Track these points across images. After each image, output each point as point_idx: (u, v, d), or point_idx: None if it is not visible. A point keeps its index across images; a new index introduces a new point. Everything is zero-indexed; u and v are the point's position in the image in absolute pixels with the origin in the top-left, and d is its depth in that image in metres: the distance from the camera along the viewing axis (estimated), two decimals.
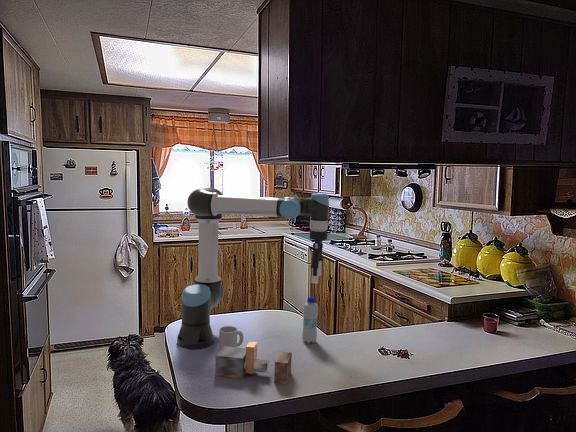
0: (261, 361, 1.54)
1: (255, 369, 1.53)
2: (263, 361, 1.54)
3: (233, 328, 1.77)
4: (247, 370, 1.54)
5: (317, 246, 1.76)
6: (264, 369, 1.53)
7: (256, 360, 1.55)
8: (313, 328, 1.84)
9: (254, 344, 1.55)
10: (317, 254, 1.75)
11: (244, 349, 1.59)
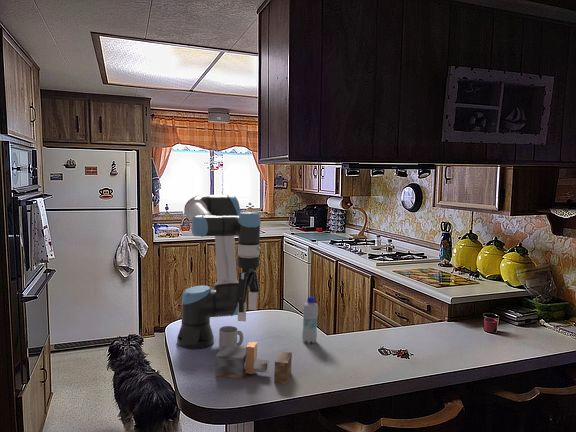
0: (261, 361, 1.54)
1: (255, 369, 1.53)
2: (263, 361, 1.54)
3: (233, 328, 1.77)
4: (247, 370, 1.54)
5: (243, 276, 1.45)
6: (264, 369, 1.53)
7: (256, 360, 1.55)
8: (313, 328, 1.84)
9: (254, 344, 1.55)
10: (243, 286, 1.44)
11: (244, 349, 1.59)
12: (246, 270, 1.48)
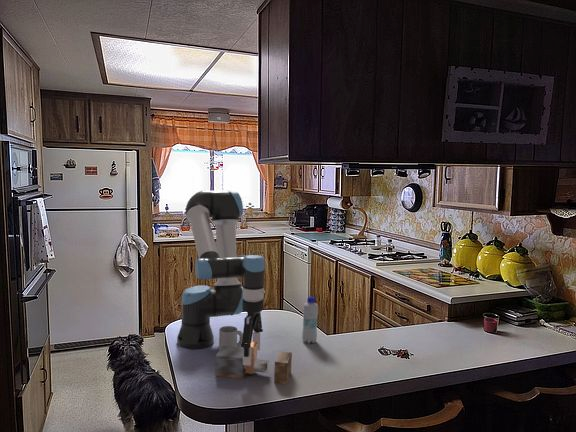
0: (261, 361, 1.54)
1: (255, 369, 1.53)
2: (263, 361, 1.54)
3: (233, 328, 1.77)
4: (247, 370, 1.54)
5: (249, 321, 1.47)
6: (264, 369, 1.53)
7: (256, 360, 1.55)
8: (313, 328, 1.84)
9: (254, 344, 1.55)
10: (248, 331, 1.46)
11: None
12: (251, 314, 1.50)
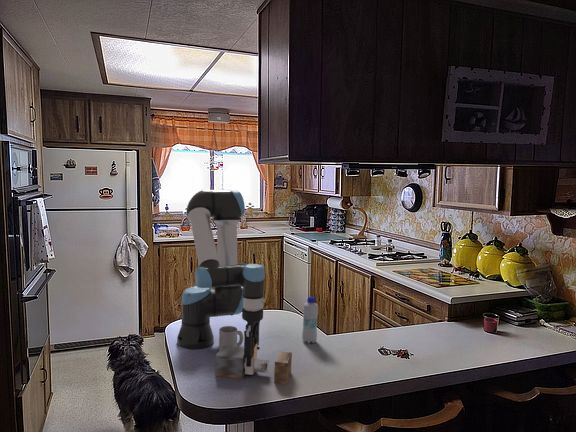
0: (261, 361, 1.54)
1: (255, 369, 1.53)
2: (263, 361, 1.54)
3: (233, 328, 1.77)
4: None
5: (248, 335, 1.48)
6: (264, 369, 1.53)
7: (256, 360, 1.55)
8: (313, 328, 1.84)
9: (254, 344, 1.55)
10: (249, 343, 1.49)
11: None
12: (251, 323, 1.50)
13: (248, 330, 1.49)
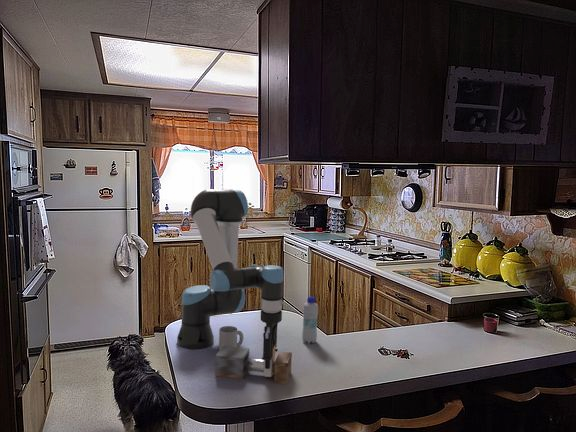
0: None
1: (274, 371, 1.52)
2: None
3: (233, 328, 1.77)
4: None
5: (268, 337, 1.47)
6: None
7: (274, 362, 1.54)
8: (313, 328, 1.84)
9: (272, 346, 1.54)
10: (268, 345, 1.48)
11: (244, 349, 1.59)
12: (269, 325, 1.49)
13: (267, 332, 1.48)
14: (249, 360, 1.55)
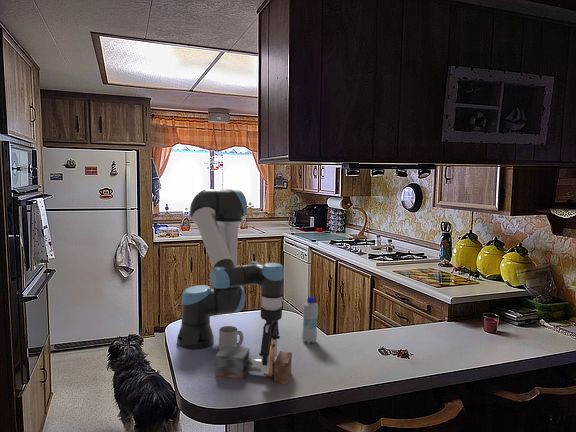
0: None
1: (274, 371, 1.52)
2: None
3: (233, 328, 1.77)
4: None
5: (267, 330, 1.46)
6: None
7: (274, 362, 1.54)
8: (313, 328, 1.84)
9: (272, 346, 1.54)
10: (267, 340, 1.46)
11: (244, 349, 1.59)
12: (269, 322, 1.49)
13: (267, 326, 1.47)
14: (249, 360, 1.55)
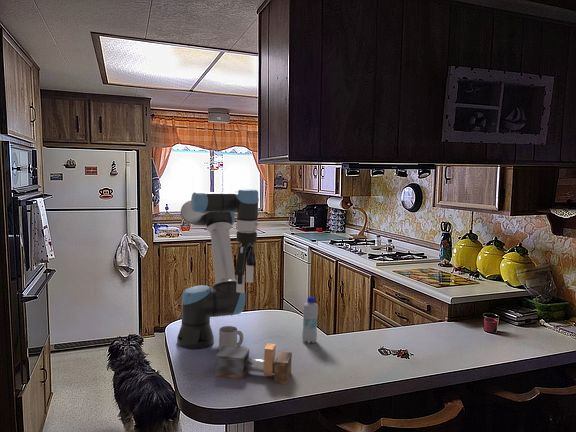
0: None
1: (274, 371, 1.52)
2: None
3: (233, 328, 1.77)
4: (266, 372, 1.53)
5: (242, 250, 1.53)
6: None
7: (274, 362, 1.54)
8: (313, 328, 1.84)
9: (272, 346, 1.54)
10: (242, 259, 1.52)
11: (244, 349, 1.59)
12: (245, 244, 1.56)
13: (242, 247, 1.54)
14: (249, 360, 1.55)
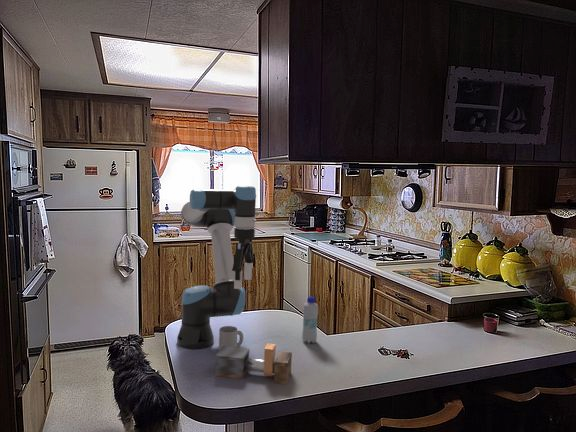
0: None
1: (274, 371, 1.52)
2: None
3: (233, 328, 1.77)
4: (266, 372, 1.53)
5: (240, 246, 1.53)
6: None
7: (274, 362, 1.54)
8: (313, 328, 1.84)
9: (272, 346, 1.54)
10: (239, 255, 1.53)
11: (244, 349, 1.59)
12: (242, 241, 1.56)
13: None
14: (249, 360, 1.55)
